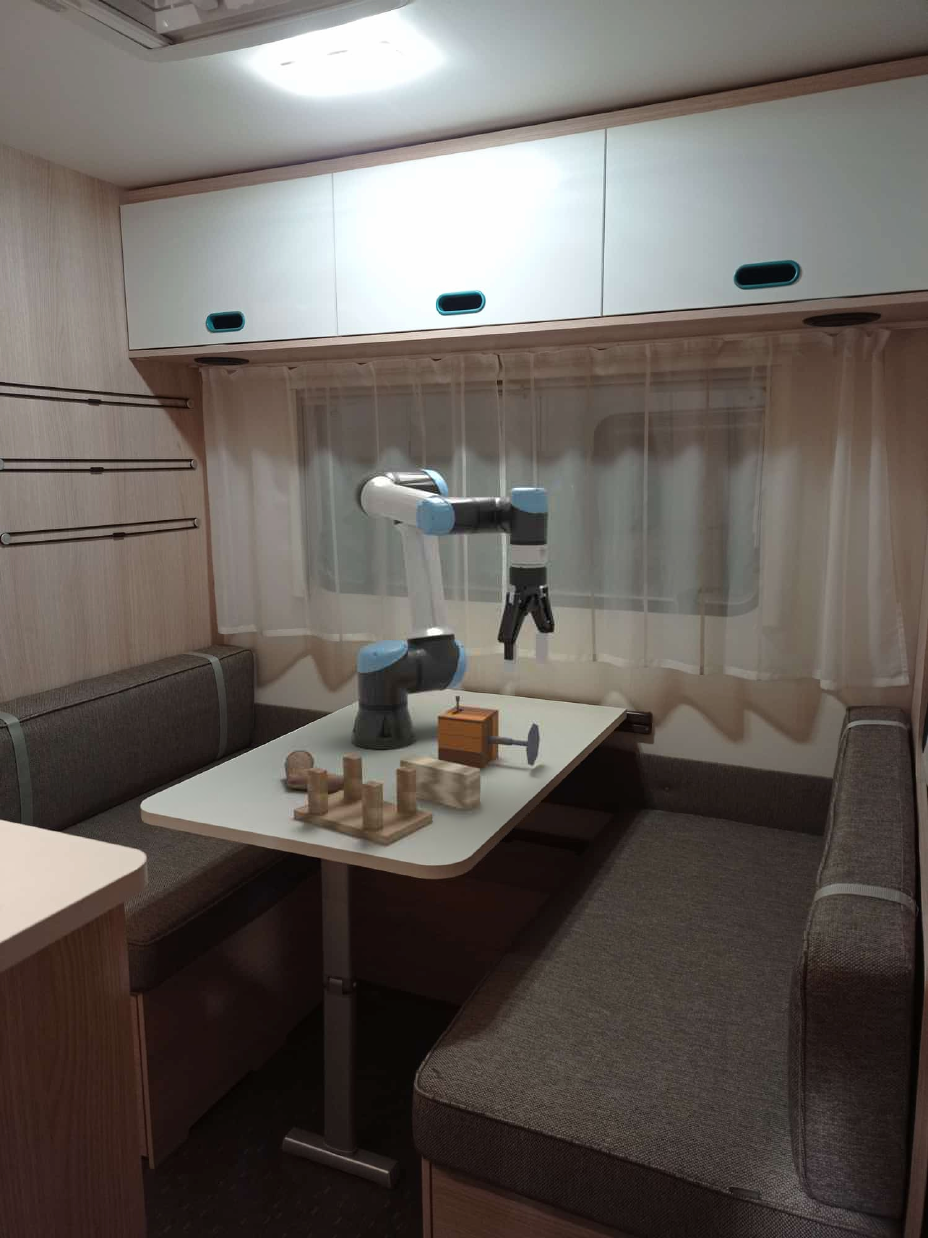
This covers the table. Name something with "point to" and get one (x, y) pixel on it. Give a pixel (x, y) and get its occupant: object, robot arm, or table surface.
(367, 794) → the wooden block assembly
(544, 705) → the table surface
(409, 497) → the robot arm
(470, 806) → the cream wooden block
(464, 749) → the wooden box with plunger
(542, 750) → the table surface
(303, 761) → the pipe
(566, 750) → the table surface
